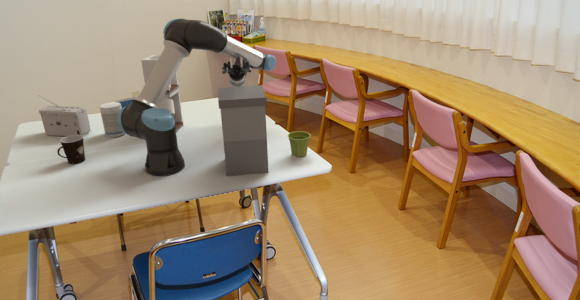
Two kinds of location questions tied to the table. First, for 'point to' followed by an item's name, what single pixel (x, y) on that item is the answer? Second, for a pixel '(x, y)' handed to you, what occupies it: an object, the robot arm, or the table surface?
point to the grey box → (244, 129)
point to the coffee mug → (73, 149)
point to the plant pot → (299, 143)
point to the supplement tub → (111, 119)
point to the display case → (172, 94)
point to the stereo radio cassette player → (65, 120)
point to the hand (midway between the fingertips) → (236, 60)
